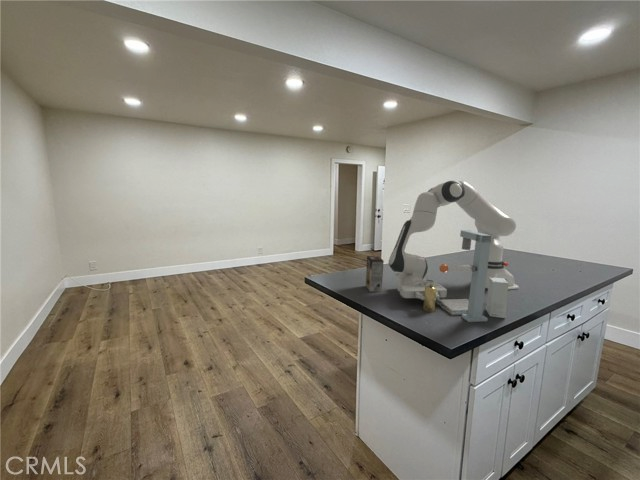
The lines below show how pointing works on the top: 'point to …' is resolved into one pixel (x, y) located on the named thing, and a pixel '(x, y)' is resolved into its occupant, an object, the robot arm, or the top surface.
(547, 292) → the top surface
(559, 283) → the top surface
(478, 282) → the frame
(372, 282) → the coffee box
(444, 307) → the press bed
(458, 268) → the lever
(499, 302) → the skincare box
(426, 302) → the cylinder
